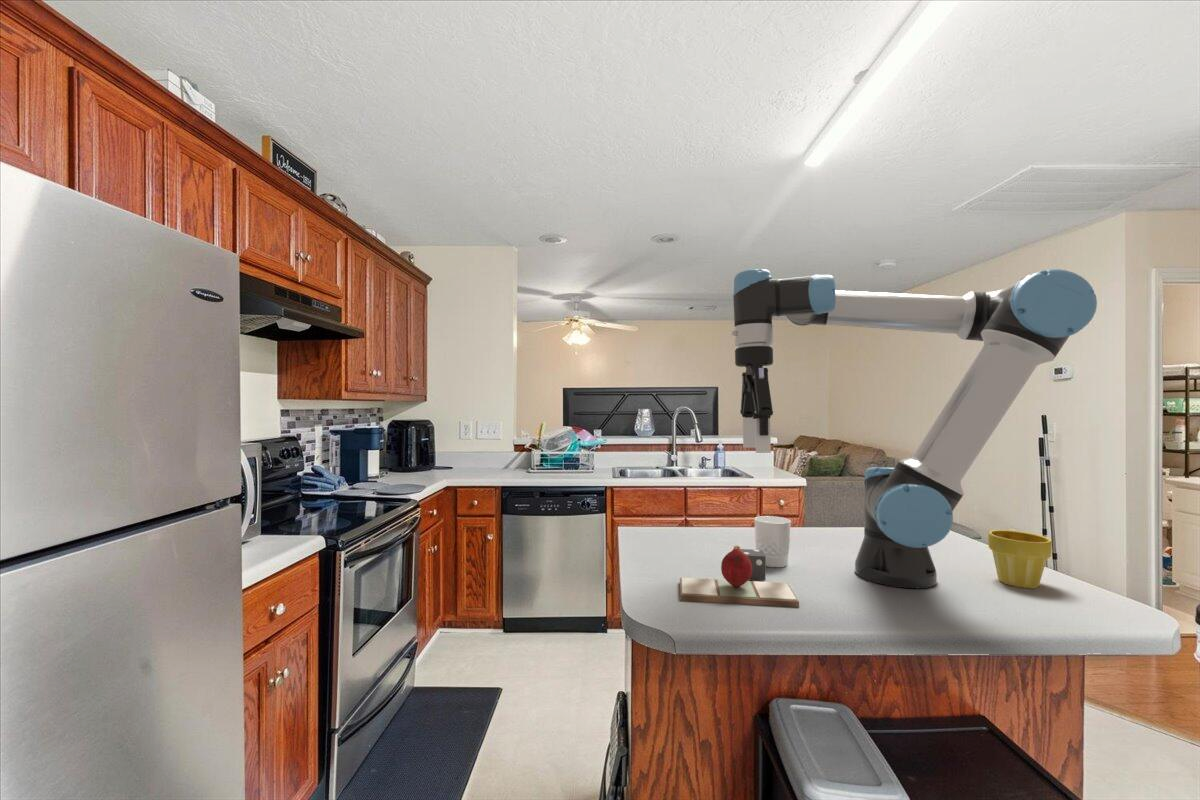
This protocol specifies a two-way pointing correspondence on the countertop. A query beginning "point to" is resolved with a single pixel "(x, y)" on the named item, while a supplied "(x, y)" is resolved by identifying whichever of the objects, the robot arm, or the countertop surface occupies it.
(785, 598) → the board
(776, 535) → the white cup
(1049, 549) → the plant pot
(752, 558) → the die
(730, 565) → the onion
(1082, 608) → the countertop surface
